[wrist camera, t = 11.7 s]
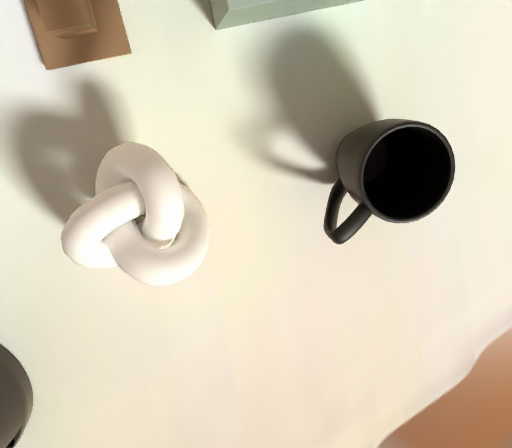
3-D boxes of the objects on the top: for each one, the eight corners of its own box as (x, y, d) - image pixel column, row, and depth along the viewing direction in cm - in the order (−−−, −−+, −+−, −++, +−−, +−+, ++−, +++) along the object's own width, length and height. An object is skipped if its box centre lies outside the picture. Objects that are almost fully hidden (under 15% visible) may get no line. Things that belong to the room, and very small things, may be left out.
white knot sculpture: (67, 138, 41) (38, 151, 33) (203, 135, 43) (210, 146, 34) (82, 259, 44) (59, 300, 36) (209, 251, 46) (216, 288, 38)
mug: (277, 185, 45) (301, 208, 36) (367, 96, 44) (416, 98, 35) (330, 240, 48) (366, 275, 39) (417, 157, 47) (475, 173, 38)
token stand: (48, 69, 39) (27, 66, 34) (19, -21, 37) (-9, -41, 32) (131, 53, 40) (124, 47, 34) (107, -37, 38) (95, -60, 32)
